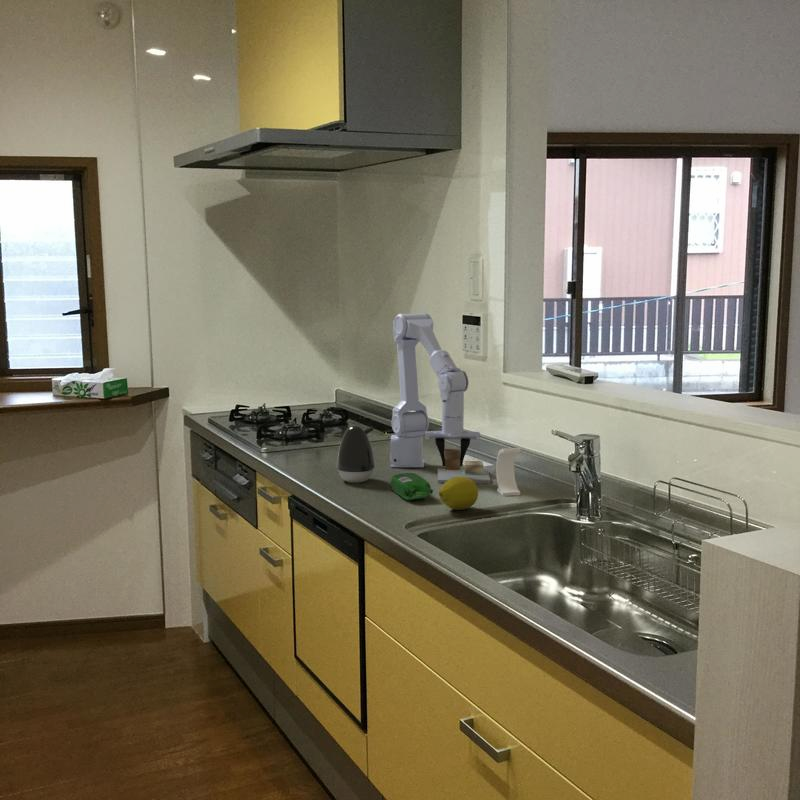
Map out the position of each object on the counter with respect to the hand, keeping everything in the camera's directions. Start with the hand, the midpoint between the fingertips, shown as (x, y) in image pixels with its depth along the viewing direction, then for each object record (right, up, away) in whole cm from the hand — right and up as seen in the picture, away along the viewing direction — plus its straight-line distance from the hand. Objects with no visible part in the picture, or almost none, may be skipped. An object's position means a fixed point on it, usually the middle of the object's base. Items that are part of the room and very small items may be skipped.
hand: (452, 465), depth 256 cm
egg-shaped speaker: (-26, -4, +1) cm, 26 cm away
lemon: (0, -9, -29) cm, 30 cm away
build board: (+3, -3, +4) cm, 6 cm away
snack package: (-11, -7, -16) cm, 21 cm away
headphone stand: (+14, -6, -13) cm, 20 cm away
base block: (+6, -2, +7) cm, 10 cm away
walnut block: (0, -1, 0) cm, 1 cm away
